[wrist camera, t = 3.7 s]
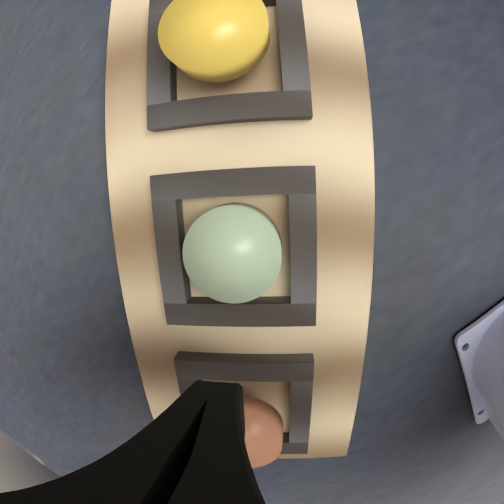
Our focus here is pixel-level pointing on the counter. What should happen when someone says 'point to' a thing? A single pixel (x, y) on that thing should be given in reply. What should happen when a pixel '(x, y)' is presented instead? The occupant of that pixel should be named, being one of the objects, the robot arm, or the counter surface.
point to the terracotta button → (262, 432)
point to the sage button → (233, 253)
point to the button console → (254, 193)
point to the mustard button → (215, 37)
